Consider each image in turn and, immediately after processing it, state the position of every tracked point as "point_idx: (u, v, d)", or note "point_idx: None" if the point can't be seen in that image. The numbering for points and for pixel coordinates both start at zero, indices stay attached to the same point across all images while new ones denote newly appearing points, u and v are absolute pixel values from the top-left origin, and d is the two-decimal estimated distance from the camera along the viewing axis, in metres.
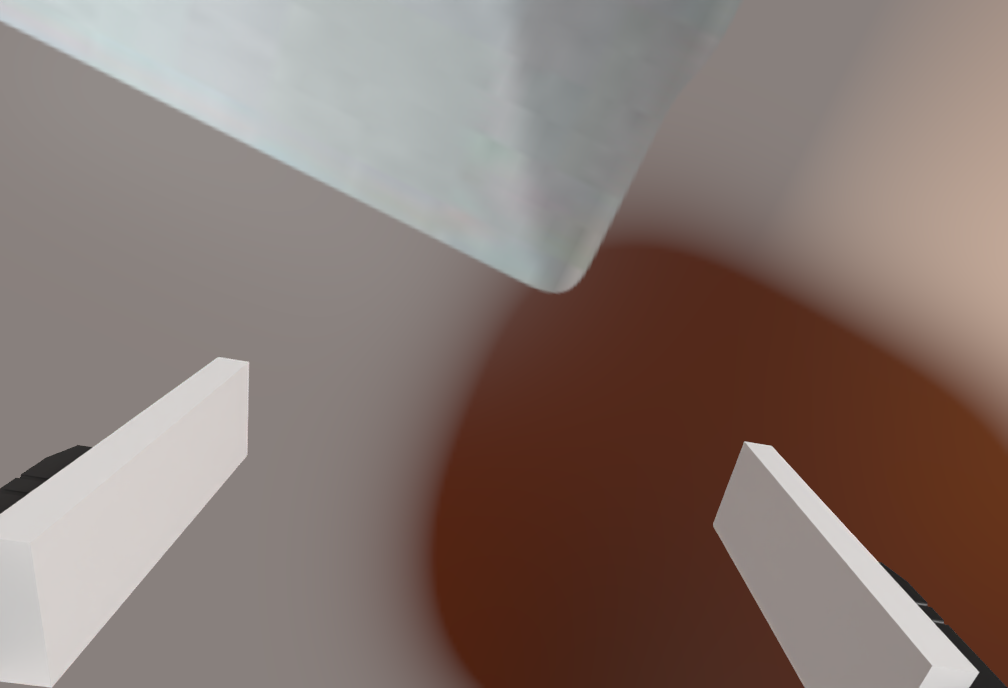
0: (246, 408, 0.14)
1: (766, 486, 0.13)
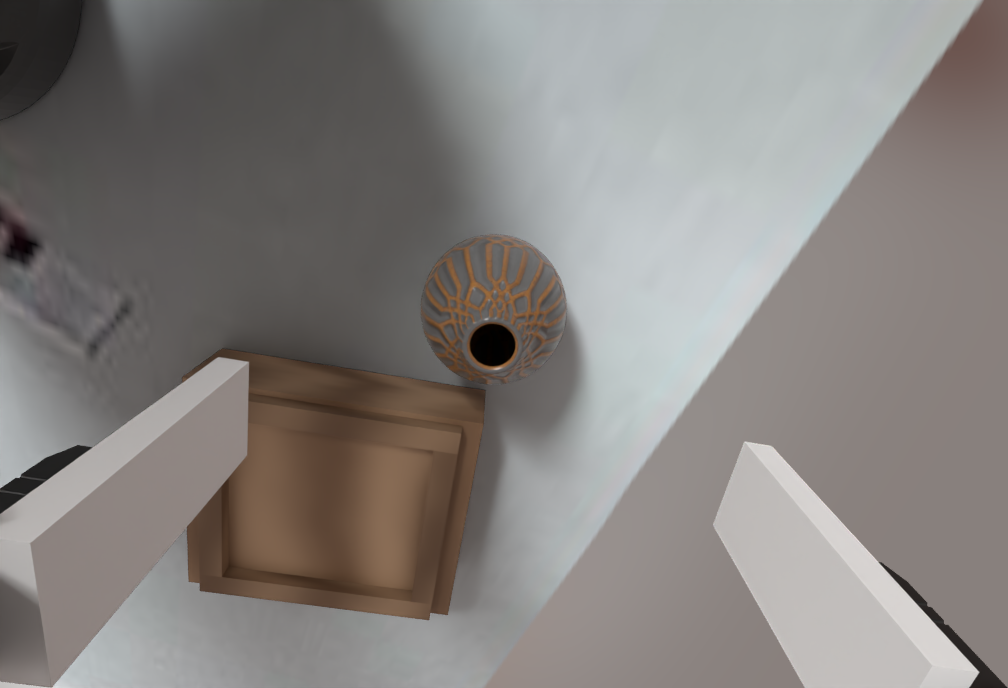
0: (245, 408, 0.14)
1: (765, 487, 0.13)
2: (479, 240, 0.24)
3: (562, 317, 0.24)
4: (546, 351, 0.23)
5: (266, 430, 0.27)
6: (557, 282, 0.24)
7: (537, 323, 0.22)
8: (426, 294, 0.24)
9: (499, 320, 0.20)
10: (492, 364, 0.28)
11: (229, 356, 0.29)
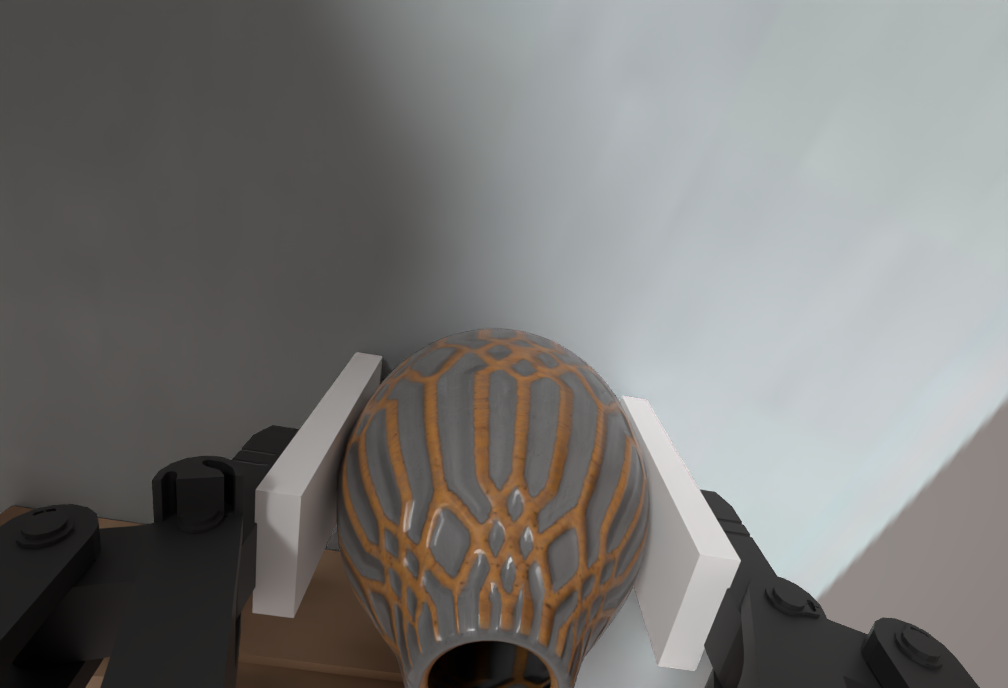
0: None
1: None
2: (461, 358, 0.11)
3: (646, 531, 0.11)
4: (613, 618, 0.10)
5: None
6: (634, 451, 0.11)
7: (601, 587, 0.09)
8: (342, 481, 0.10)
9: (507, 636, 0.07)
10: None
11: None
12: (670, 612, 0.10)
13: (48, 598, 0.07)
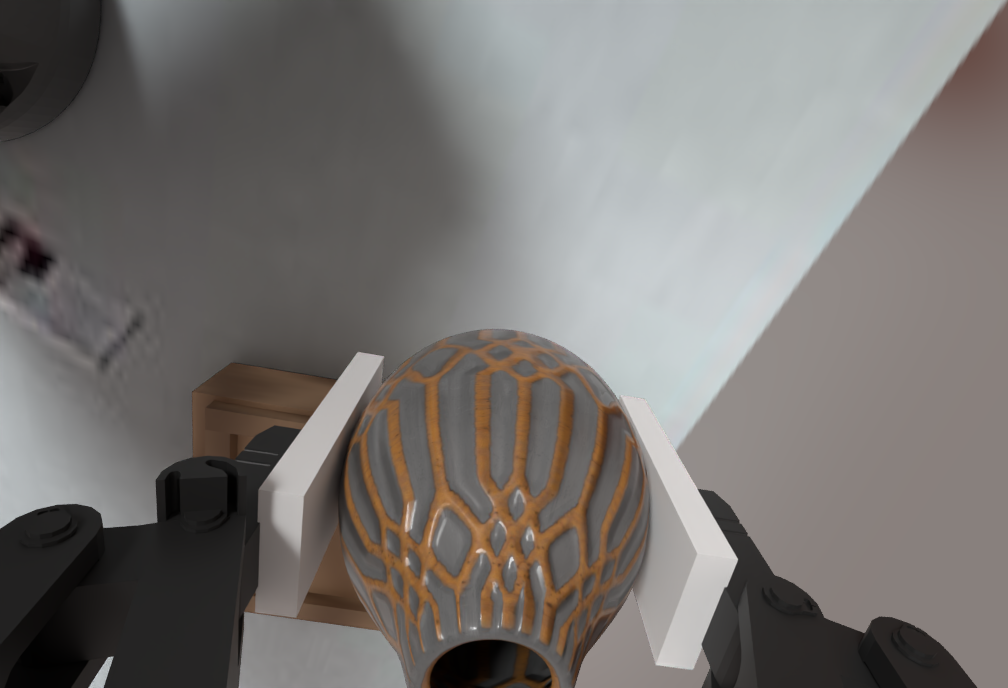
0: None
1: None
2: (462, 359, 0.11)
3: (647, 531, 0.11)
4: (614, 617, 0.10)
5: None
6: (634, 451, 0.11)
7: (602, 586, 0.09)
8: (344, 481, 0.11)
9: (509, 635, 0.07)
10: None
11: (238, 370, 0.29)
12: (668, 611, 0.10)
13: (52, 598, 0.07)
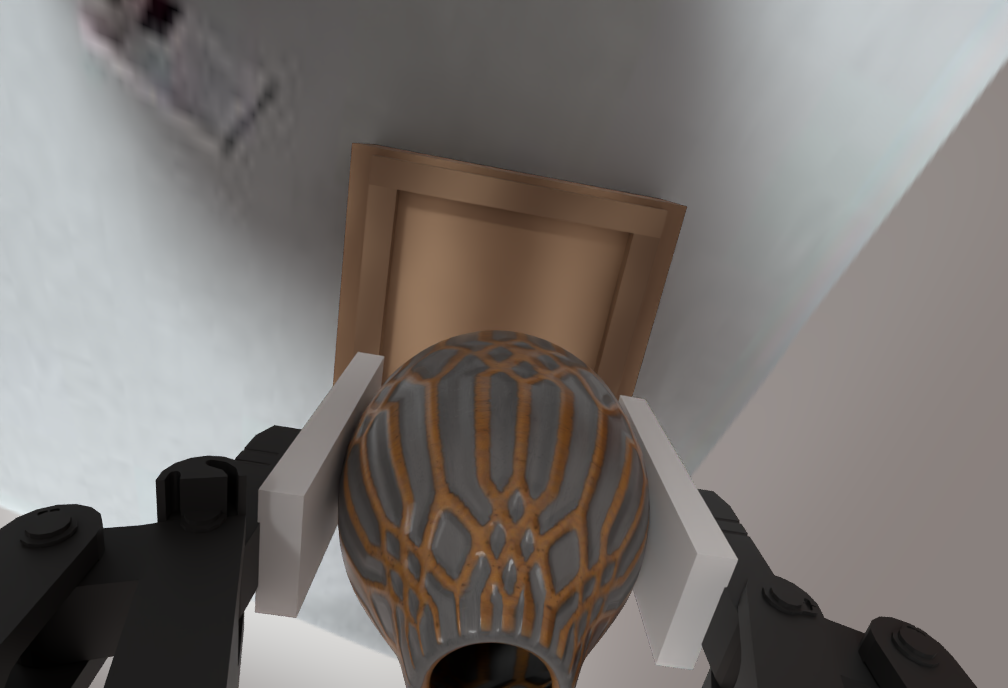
0: None
1: None
2: (462, 360, 0.11)
3: (647, 533, 0.11)
4: None
5: (440, 213, 0.24)
6: (635, 453, 0.11)
7: (602, 589, 0.09)
8: (343, 483, 0.11)
9: (508, 637, 0.07)
10: None
11: None
12: (668, 611, 0.10)
13: (52, 598, 0.07)
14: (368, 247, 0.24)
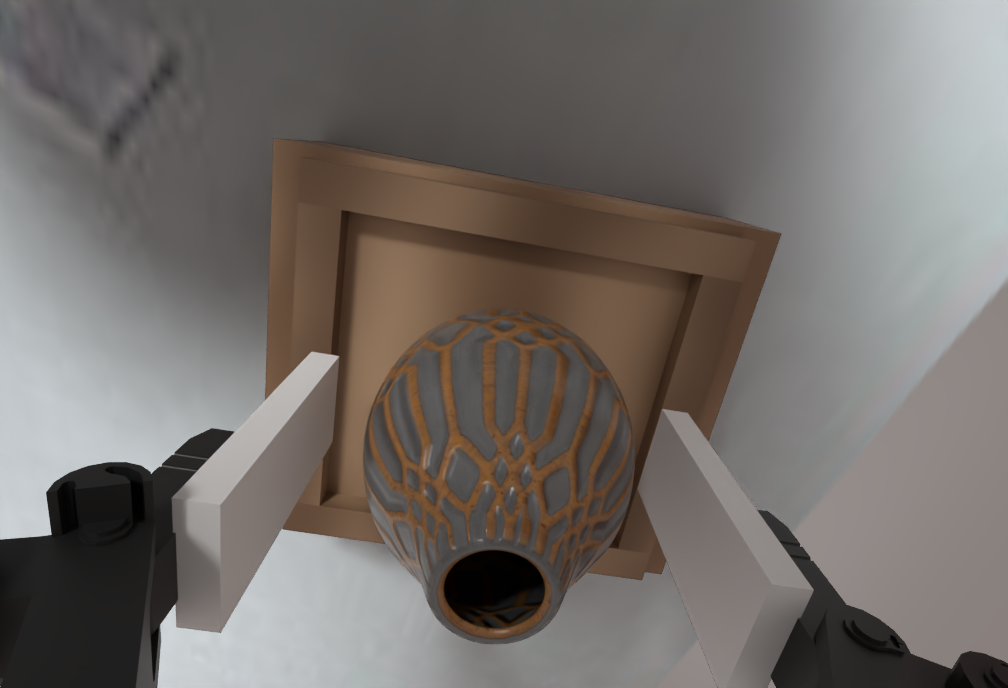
0: (334, 399, 0.15)
1: (674, 447, 0.14)
2: (471, 330, 0.12)
3: (631, 481, 0.12)
4: (602, 554, 0.12)
5: (411, 245, 0.16)
6: (621, 412, 0.12)
7: (589, 519, 0.10)
8: (369, 435, 0.12)
9: (509, 546, 0.09)
10: None
11: (334, 145, 0.18)
12: (735, 641, 0.10)
13: None
14: (301, 297, 0.16)
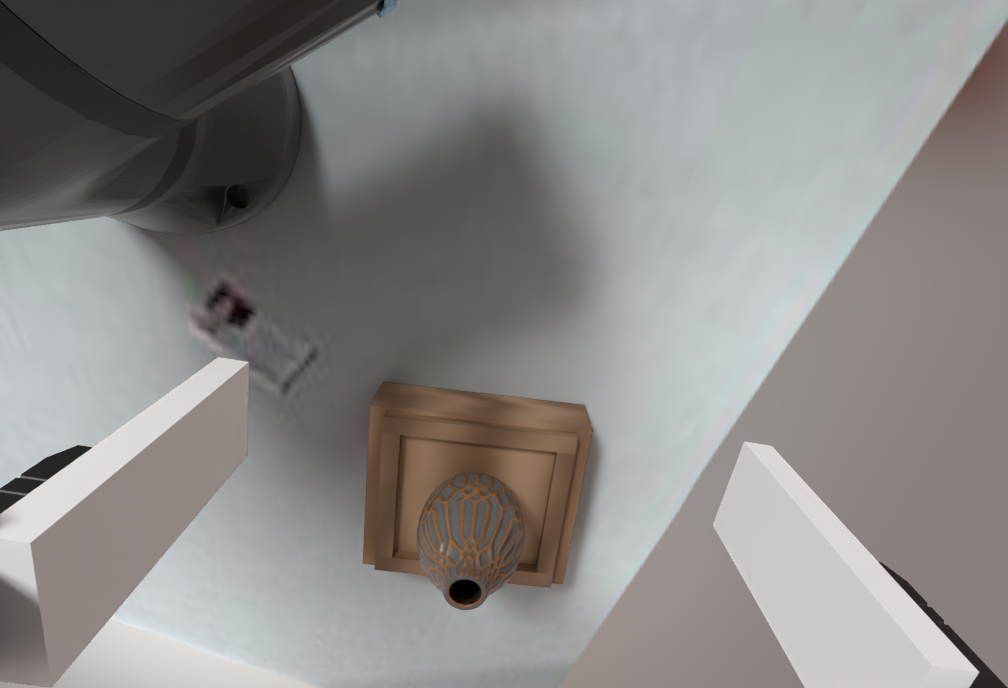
0: (246, 408, 0.14)
1: (765, 487, 0.13)
2: (456, 493, 0.33)
3: (519, 549, 0.32)
4: (508, 577, 0.32)
5: (429, 442, 0.36)
6: (514, 522, 0.32)
7: (498, 566, 0.31)
8: (419, 536, 0.32)
9: (468, 577, 0.29)
10: None
11: (391, 387, 0.38)
12: None
13: None
14: (383, 468, 0.36)
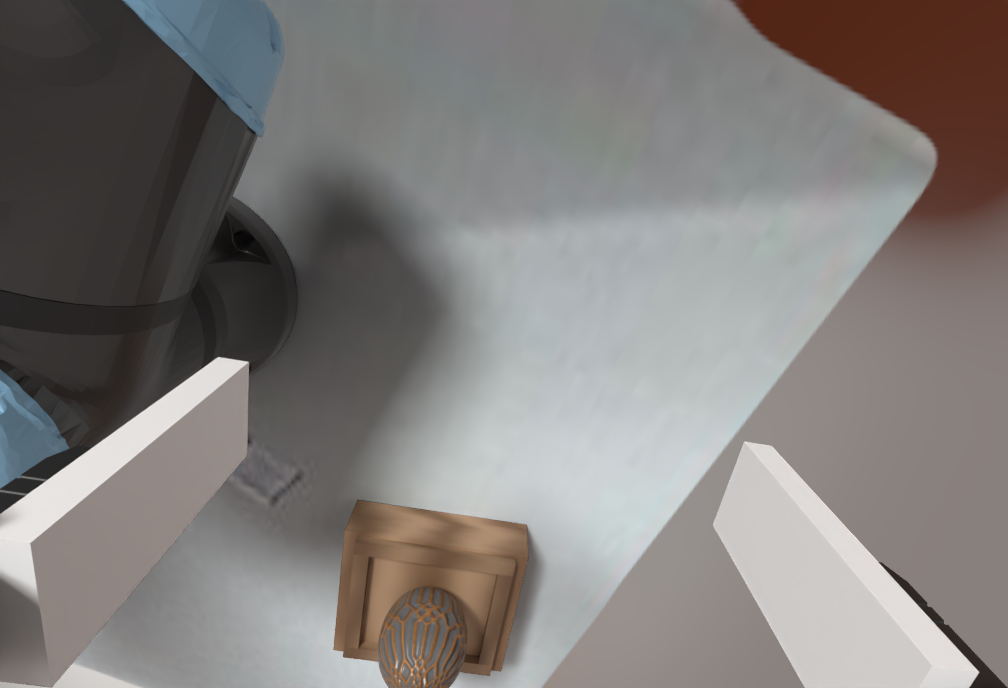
0: (246, 409, 0.14)
1: (765, 486, 0.13)
2: (411, 614, 0.40)
3: (460, 661, 0.40)
4: (450, 685, 0.39)
5: (393, 560, 0.44)
6: (457, 639, 0.40)
7: (441, 680, 0.38)
8: (379, 648, 0.40)
9: None
10: None
11: (364, 507, 0.46)
12: None
13: None
14: (353, 581, 0.43)
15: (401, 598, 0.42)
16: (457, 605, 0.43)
